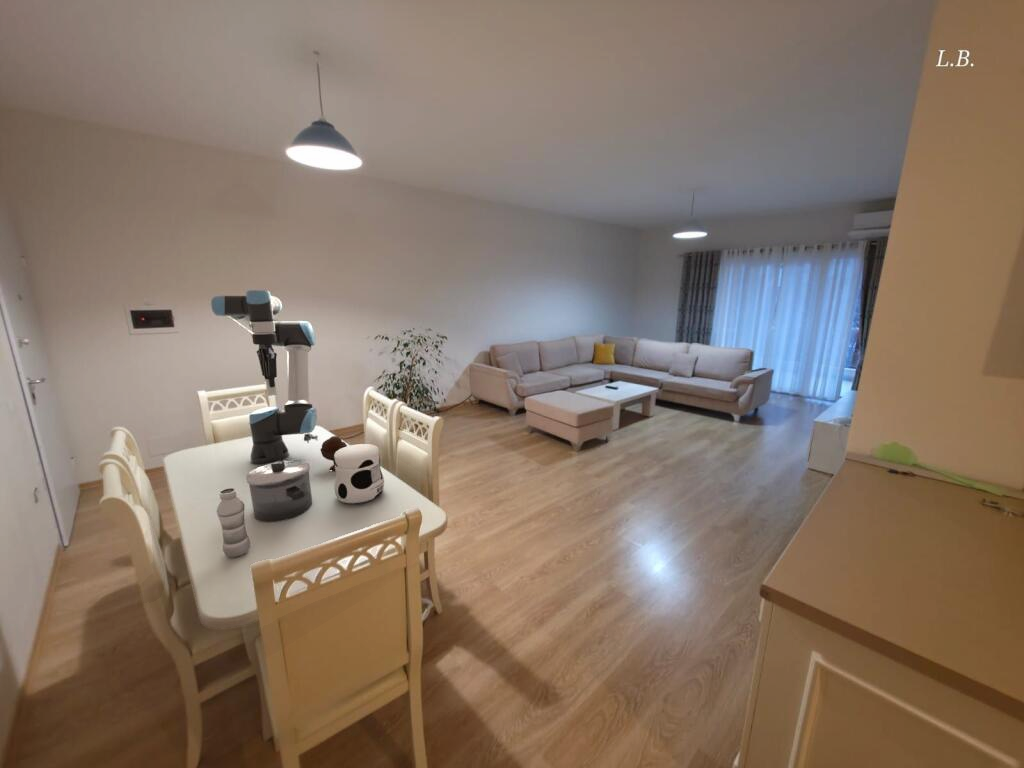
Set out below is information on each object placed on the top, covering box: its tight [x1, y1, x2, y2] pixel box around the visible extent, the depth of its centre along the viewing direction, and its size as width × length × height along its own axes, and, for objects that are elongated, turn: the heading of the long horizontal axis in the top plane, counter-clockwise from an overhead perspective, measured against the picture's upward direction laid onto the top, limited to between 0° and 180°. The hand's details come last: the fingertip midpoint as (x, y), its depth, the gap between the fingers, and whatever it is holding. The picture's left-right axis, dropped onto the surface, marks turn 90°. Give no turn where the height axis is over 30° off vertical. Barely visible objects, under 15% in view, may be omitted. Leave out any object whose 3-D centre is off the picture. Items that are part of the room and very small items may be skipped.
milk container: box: [333, 443, 385, 505], centre depth 149 cm, size 17×17×18 cm
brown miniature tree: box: [319, 435, 348, 472], centre depth 173 cm, size 11×11×15 cm
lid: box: [245, 459, 311, 486], centre depth 139 cm, size 20×19×4 cm
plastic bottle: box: [216, 487, 251, 559], centre depth 115 cm, size 6×7×20 cm
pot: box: [248, 470, 313, 523], centre depth 139 cm, size 24×18×12 cm
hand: (272, 394), depth 154 cm, fingers closed
